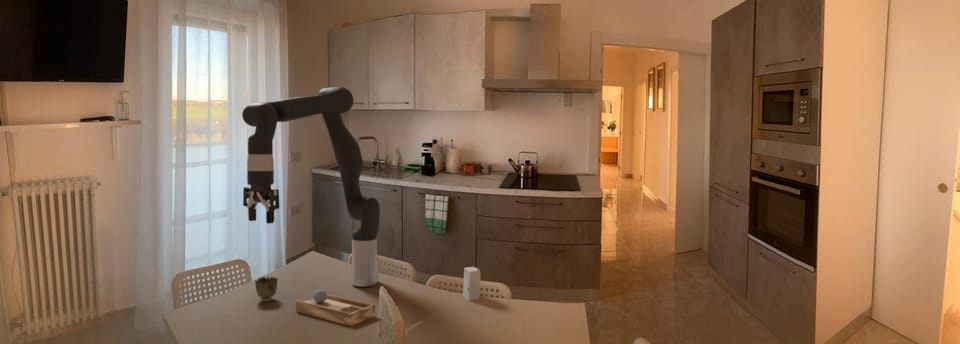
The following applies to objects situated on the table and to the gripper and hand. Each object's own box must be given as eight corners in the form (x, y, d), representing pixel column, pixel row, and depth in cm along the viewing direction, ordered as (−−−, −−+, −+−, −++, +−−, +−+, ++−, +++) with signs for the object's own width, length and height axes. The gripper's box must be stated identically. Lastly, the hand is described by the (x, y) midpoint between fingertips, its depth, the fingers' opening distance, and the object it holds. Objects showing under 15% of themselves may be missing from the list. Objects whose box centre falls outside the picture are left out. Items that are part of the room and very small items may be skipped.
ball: (320, 300, 184) (320, 287, 184) (329, 302, 182) (329, 289, 182) (310, 303, 181) (310, 290, 180) (319, 305, 178) (319, 292, 178)
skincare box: (462, 300, 194) (462, 267, 194) (473, 299, 196) (474, 266, 195) (468, 305, 189) (469, 271, 188) (480, 304, 190) (481, 270, 190)
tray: (321, 303, 189) (321, 292, 189) (375, 316, 176) (375, 305, 176) (295, 311, 180) (295, 300, 180) (350, 326, 167) (350, 314, 166)
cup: (269, 305, 186) (269, 282, 186) (250, 303, 187) (250, 280, 187) (282, 299, 193) (281, 277, 193) (263, 297, 195) (263, 275, 194)
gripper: (286, 169, 165) (286, 222, 166) (256, 167, 172) (257, 218, 173) (264, 170, 158) (265, 225, 159) (235, 168, 166) (235, 221, 167)
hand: (261, 221), depth 166 cm, fingers open, 8 cm apart
